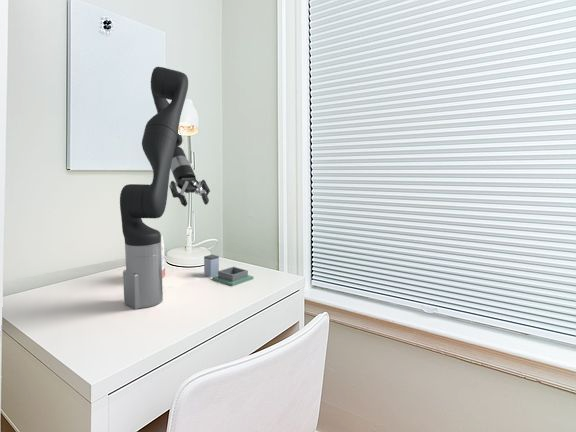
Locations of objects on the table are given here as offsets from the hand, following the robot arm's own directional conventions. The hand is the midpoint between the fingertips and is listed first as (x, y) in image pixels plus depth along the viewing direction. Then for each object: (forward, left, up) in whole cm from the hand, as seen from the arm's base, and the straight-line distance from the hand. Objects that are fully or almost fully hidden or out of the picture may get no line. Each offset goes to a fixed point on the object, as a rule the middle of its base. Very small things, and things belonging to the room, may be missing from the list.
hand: (196, 204), depth 123 cm
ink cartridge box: (-18, +1, -25) cm, 31 cm away
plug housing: (-2, -10, -25) cm, 27 cm away
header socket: (0, -19, -25) cm, 31 cm away
